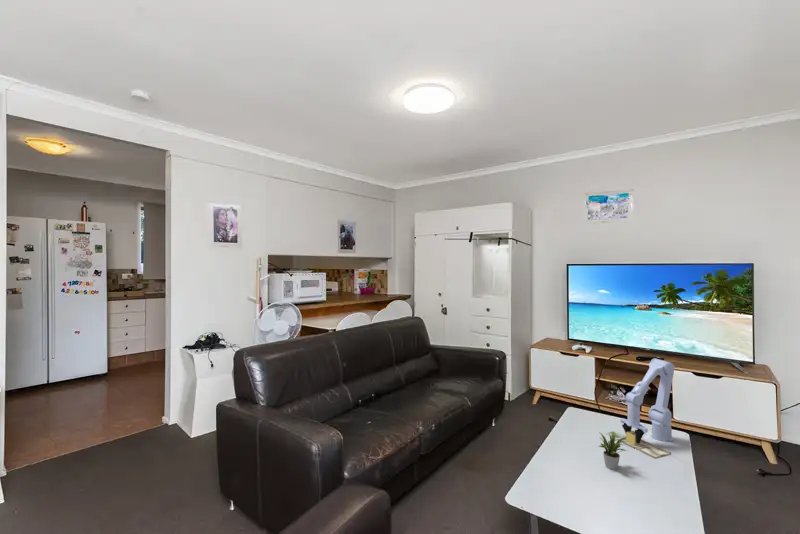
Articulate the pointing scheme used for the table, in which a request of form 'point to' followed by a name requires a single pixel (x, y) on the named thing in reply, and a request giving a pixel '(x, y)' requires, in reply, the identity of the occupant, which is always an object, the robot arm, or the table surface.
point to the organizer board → (643, 447)
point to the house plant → (611, 451)
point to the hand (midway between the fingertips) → (633, 440)
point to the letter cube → (631, 438)
